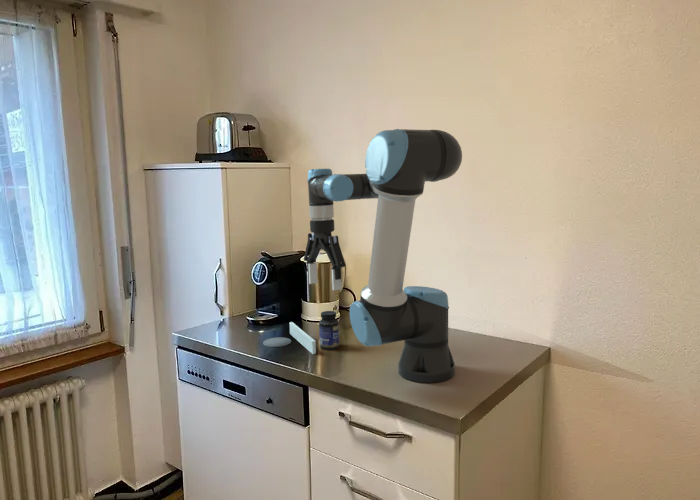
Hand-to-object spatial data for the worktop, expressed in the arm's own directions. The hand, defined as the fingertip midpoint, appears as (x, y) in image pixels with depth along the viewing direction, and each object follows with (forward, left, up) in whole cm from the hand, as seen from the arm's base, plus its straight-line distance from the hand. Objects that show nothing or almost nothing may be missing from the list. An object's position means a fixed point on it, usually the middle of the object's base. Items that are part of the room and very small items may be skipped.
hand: (324, 286), depth 169 cm
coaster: (+8, +14, -19) cm, 25 cm away
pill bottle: (-4, +1, -19) cm, 19 cm away
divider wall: (+4, +7, -19) cm, 20 cm away
